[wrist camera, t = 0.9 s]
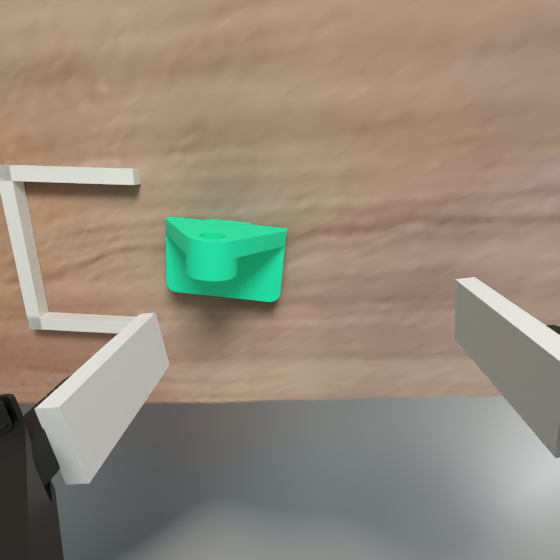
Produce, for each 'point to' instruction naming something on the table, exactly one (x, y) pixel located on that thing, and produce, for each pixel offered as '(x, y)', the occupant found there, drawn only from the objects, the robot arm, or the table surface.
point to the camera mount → (224, 258)
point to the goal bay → (24, 247)
